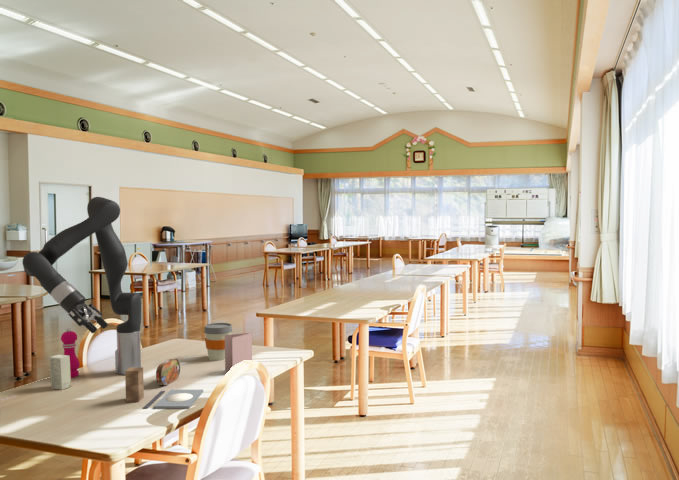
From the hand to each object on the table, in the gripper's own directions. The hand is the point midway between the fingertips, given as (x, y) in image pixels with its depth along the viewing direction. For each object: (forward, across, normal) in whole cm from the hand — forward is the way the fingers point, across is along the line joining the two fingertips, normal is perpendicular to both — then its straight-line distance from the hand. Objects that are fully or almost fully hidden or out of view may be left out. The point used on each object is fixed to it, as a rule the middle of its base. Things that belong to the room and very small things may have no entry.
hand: (100, 329), depth 197 cm
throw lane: (+36, 0, 0) cm, 36 cm away
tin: (+30, +21, +6) cm, 37 cm away
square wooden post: (+26, 0, +10) cm, 28 cm away
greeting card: (+47, +37, -12) cm, 61 cm away
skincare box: (+2, +14, +34) cm, 37 cm away
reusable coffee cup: (+37, +58, -2) cm, 69 cm away
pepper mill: (-1, +29, +36) cm, 47 cm away
